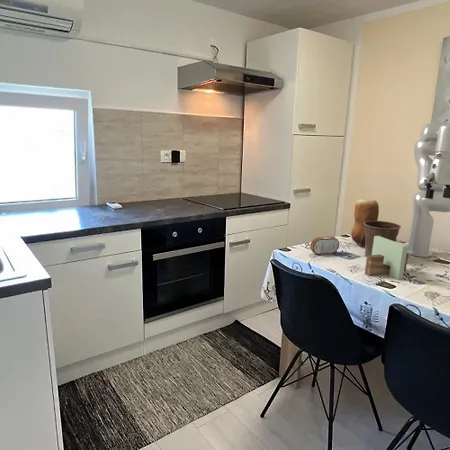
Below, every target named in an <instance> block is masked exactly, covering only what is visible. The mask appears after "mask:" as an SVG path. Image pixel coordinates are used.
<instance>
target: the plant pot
mask: <svg viewBox="0 0 450 450" xmlns="http://www.w3.org/2000/svg"><path fill="white" fill-rule="evenodd" d="M364 225H365V246H364V255H365V257H367V256H369V255H372V249H373V242H374V236H381V237H383V238H386V239H389V240H392V241H395V242H397V241H396V240H397V237H398V235H399V232H400V229H401V228H402V226H401V225H400V224H397V223H395V222H392V221H391V222H390V221H383V220H377V221H366V222H364Z"/></svg>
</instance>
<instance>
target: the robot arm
mask: <svg viewBox="0 0 450 450" xmlns="http://www.w3.org/2000/svg"><path fill="white" fill-rule="evenodd" d="M419 137H420V139H418V140H416V142H414V147H413V156H414V159H415V160H414V161H415V163H416V166H417V174H416V175H417V176H416V177H417V180H416V182H417V183H416V185H417V186H416V187H417V189H418V190H419V191H416V192H415V193H414V194H413V198H412V203H413V204H412V215H411V216H412V217H411V225H410V231H409V237H408V244H407V246H408V247H407V253H408V256H409V255H410V256H414V257H419V258H430V257H432V256H433V252H431V251H430V245H431V240H432V233H433V228H434V221H435V220H434V217H433V216H432V215H431V213H430V212H437V213H439V212H440V213H449V212H450V122H433V123H425V124H423V126H422V127H421V130H420V135H419ZM430 156H431V157H433V156H434V157H433V159H432V158H431V157H430Z"/></svg>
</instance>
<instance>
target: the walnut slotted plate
mask: <svg viewBox="0 0 450 450" xmlns="http://www.w3.org/2000/svg"><path fill="white" fill-rule="evenodd" d="M408 258H409V254H408V253H407V254H406V260H405V267H404V272H406V271H407V266H408V265H407V264H408ZM383 261H384V256H383V255H380V254H379V255H369V256H366V261H365V268H364V274H365V275H366V276H368V277H372V276H378V275H386V274H388V275H389V273H390V266H389V265H386V264H384V263H383Z"/></svg>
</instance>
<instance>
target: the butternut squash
mask: <svg viewBox="0 0 450 450" xmlns="http://www.w3.org/2000/svg"><path fill="white" fill-rule="evenodd" d="M379 212H380V208H379V202H378V201H377V200H375V199H365V198H360V199H357V200H356V202H355V205H354V217H353V218H354V223H353V226H352V228H351V232H350V236H351V239H352V242H355V243H356V244H357V245H359V246H362V247H365V225H364V222H366V221H379V220H378V219H379V215H380V213H379Z"/></svg>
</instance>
